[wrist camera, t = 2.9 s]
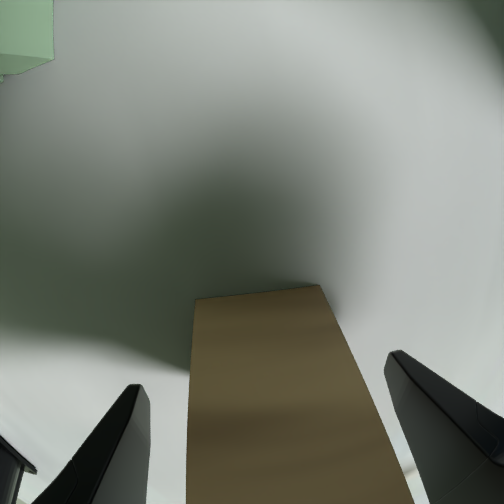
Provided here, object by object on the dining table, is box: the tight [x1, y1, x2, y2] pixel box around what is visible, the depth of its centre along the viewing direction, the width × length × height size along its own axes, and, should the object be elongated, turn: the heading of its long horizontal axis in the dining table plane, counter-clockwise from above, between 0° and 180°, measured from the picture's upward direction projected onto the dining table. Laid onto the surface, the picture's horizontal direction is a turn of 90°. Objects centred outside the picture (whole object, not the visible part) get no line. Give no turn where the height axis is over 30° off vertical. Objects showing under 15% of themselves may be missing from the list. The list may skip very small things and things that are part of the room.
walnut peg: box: [186, 285, 415, 504], centre depth 7 cm, size 4×4×9 cm
